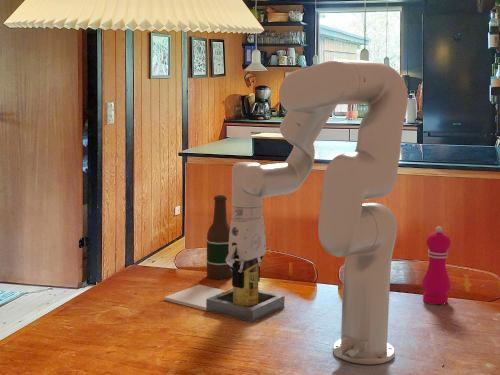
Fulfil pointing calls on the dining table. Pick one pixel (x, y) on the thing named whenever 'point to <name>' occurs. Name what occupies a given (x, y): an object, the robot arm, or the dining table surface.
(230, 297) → the collar
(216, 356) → the dining table surface
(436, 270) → the pepper mill
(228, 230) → the beer bottle
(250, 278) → the sauce bottle
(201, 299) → the plate
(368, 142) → the robot arm
